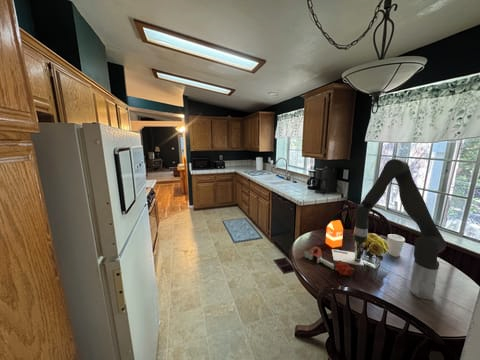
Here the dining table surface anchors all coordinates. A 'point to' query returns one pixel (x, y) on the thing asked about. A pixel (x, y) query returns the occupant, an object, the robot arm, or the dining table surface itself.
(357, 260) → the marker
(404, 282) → the dining table surface
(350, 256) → the paper sheet
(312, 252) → the tape dispenser
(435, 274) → the robot arm
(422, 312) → the dining table surface
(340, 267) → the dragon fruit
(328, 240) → the orange juice
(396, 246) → the foam cup
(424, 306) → the dining table surface
